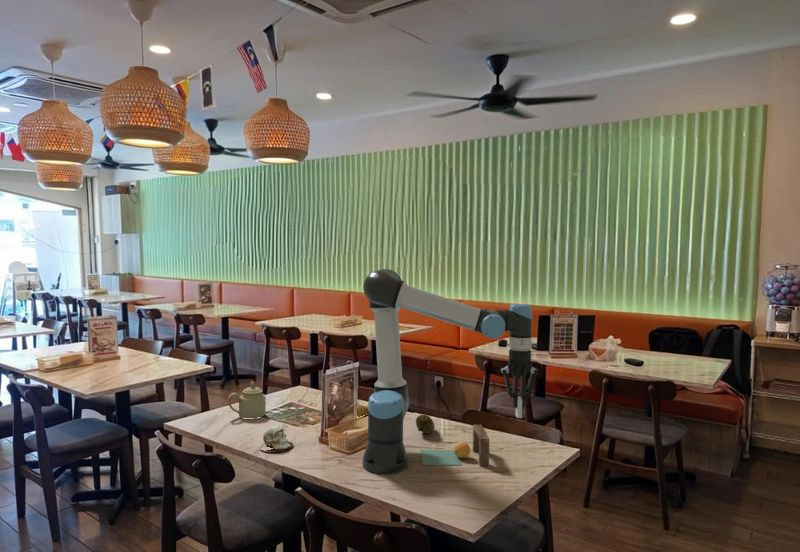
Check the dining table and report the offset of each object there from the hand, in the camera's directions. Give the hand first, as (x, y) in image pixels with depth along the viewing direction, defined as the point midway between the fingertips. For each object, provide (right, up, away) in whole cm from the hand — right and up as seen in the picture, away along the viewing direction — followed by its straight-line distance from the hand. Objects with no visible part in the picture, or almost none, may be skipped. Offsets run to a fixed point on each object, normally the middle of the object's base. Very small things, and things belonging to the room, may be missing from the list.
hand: (518, 416), depth 181 cm
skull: (-86, -14, +8) cm, 87 cm away
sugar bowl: (-106, -12, +42) cm, 114 cm away
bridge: (-13, -14, 0) cm, 19 cm away
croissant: (-62, -12, +42) cm, 76 cm away
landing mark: (-27, -14, 0) cm, 31 cm away
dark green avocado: (-31, -13, +25) cm, 42 cm away
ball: (-20, -11, 0) cm, 23 cm away
